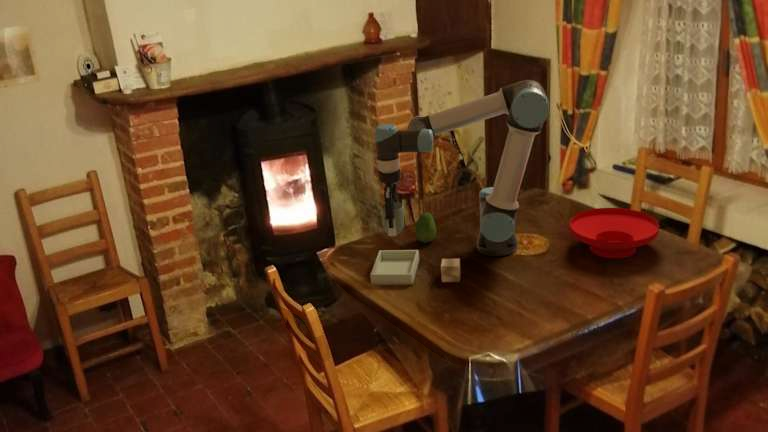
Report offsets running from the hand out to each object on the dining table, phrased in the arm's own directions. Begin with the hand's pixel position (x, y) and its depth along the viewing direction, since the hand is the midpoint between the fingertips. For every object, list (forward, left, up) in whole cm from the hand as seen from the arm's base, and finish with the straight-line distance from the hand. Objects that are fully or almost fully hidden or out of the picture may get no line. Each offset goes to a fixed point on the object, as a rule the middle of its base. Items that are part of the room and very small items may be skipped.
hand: (394, 230), depth 288 cm
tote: (0, +4, -14) cm, 15 cm away
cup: (0, 0, -1) cm, 1 cm away
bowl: (-76, -14, -15) cm, 79 cm away
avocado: (-8, -22, -15) cm, 27 cm away
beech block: (-20, +8, -14) cm, 26 cm away
